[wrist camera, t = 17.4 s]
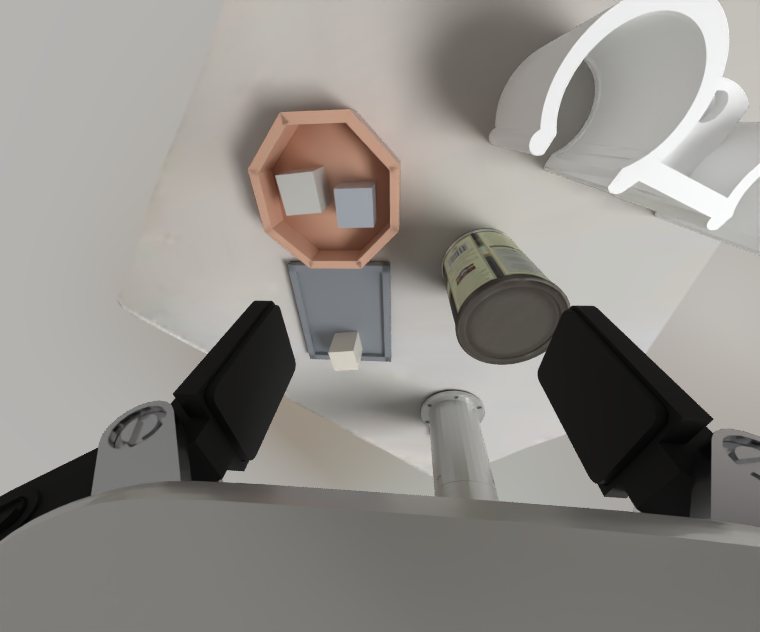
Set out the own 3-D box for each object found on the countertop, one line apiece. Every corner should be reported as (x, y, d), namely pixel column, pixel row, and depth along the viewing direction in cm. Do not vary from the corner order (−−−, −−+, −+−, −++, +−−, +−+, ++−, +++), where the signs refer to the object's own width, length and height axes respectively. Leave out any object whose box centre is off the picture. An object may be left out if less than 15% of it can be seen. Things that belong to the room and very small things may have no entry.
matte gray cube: (377, 215, 34) (373, 227, 30) (346, 216, 34) (338, 227, 30) (376, 180, 32) (371, 187, 28) (342, 181, 32) (333, 188, 28)
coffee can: (499, 303, 41) (536, 373, 29) (432, 289, 40) (442, 355, 29) (533, 236, 35) (597, 291, 23) (455, 220, 34) (480, 267, 23)
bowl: (399, 254, 37) (398, 268, 34) (287, 254, 39) (274, 268, 35) (400, 109, 28) (400, 106, 25) (254, 115, 30) (232, 114, 26)
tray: (391, 355, 48) (390, 361, 47) (312, 353, 50) (310, 358, 48) (390, 261, 38) (389, 265, 37) (290, 261, 39) (287, 265, 38)
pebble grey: (331, 202, 33) (321, 212, 30) (300, 205, 34) (286, 215, 30) (324, 165, 31) (312, 171, 27) (291, 169, 32) (275, 175, 28)
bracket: (748, 137, 28) (940, 144, 18) (659, 227, 33) (767, 270, 23) (539, 16, 24) (634, -62, 14) (478, 138, 29) (514, 145, 20)
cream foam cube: (362, 349, 47) (358, 369, 43) (340, 350, 48) (334, 370, 44) (357, 331, 45) (353, 350, 41) (334, 333, 46) (328, 352, 42)
